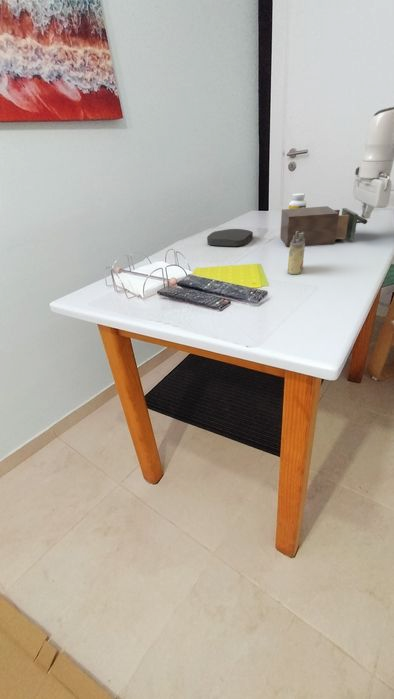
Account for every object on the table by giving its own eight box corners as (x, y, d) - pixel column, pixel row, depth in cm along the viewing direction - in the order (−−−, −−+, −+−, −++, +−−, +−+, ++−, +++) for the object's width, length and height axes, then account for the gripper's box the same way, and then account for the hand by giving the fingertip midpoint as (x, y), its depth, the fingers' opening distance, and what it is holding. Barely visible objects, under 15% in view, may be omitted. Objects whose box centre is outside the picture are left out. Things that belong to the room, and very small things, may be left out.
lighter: (299, 275, 90) (302, 237, 84) (285, 274, 91) (287, 236, 86) (303, 266, 95) (307, 230, 90) (289, 265, 96) (292, 229, 91)
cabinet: (323, 234, 121) (327, 206, 116) (334, 244, 111) (339, 213, 106) (280, 237, 122) (281, 209, 117) (286, 247, 112) (288, 216, 107)
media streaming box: (203, 245, 121) (203, 237, 119) (219, 235, 131) (219, 227, 130) (242, 247, 115) (242, 239, 113) (255, 236, 126) (255, 228, 124)
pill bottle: (294, 228, 132) (296, 196, 126) (284, 225, 138) (286, 194, 131) (307, 225, 134) (310, 193, 128) (297, 222, 140) (299, 192, 133)
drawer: (354, 230, 120) (358, 207, 115) (367, 238, 110) (371, 213, 106) (301, 234, 121) (303, 211, 117) (308, 242, 111) (311, 217, 107)
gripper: (401, 173, 96) (388, 224, 103) (372, 167, 113) (363, 211, 120) (378, 174, 96) (367, 225, 103) (353, 168, 113) (345, 212, 121)
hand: (365, 217), depth 112 cm, fingers closed, pressing on drawer
